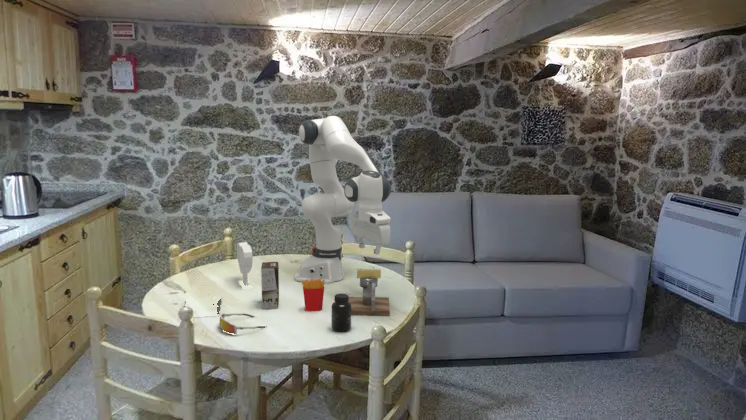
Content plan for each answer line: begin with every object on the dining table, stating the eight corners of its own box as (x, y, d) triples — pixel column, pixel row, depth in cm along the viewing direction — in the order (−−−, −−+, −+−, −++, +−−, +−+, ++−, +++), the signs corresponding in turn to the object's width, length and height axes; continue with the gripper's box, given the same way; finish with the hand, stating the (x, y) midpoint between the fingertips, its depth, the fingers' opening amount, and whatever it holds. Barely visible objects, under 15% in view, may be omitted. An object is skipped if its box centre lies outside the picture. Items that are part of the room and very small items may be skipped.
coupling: (380, 282, 193) (380, 267, 192) (381, 291, 183) (381, 276, 181) (356, 282, 192) (357, 267, 191) (356, 291, 182) (356, 275, 181)
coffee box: (278, 308, 189) (278, 267, 186) (261, 309, 188) (260, 268, 185) (279, 300, 198) (278, 261, 195) (262, 300, 197) (262, 261, 194)
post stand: (389, 316, 184) (390, 285, 182) (346, 315, 184) (346, 284, 182) (388, 302, 198) (389, 273, 196) (348, 301, 198) (348, 272, 196)
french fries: (324, 307, 192) (324, 277, 190) (324, 310, 188) (324, 280, 186) (301, 307, 190) (301, 277, 188) (301, 311, 187) (301, 281, 184)
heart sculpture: (236, 279, 222) (234, 240, 218) (247, 278, 224) (246, 239, 221) (243, 290, 208) (241, 249, 205) (255, 289, 210) (254, 248, 207)
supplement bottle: (353, 331, 170) (353, 298, 168) (333, 333, 168) (333, 300, 166) (348, 323, 177) (348, 291, 174) (329, 325, 175) (329, 293, 172)
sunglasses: (212, 324, 174) (214, 311, 174) (253, 321, 183) (255, 308, 182) (226, 339, 163) (228, 325, 162) (269, 335, 171) (270, 321, 171)
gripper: (347, 210, 190) (346, 245, 193) (380, 221, 175) (378, 258, 177) (360, 209, 194) (359, 243, 197) (394, 219, 178) (392, 256, 181)
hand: (369, 250), depth 187 cm, fingers open, 8 cm apart
